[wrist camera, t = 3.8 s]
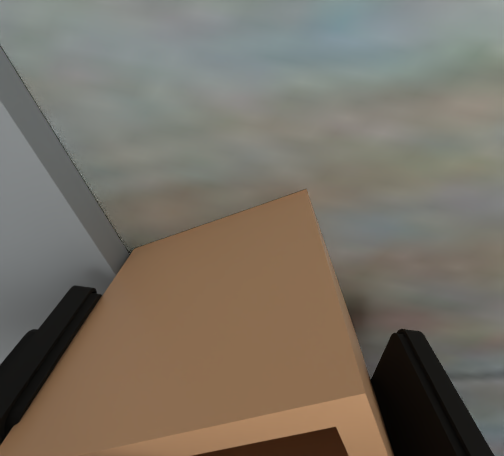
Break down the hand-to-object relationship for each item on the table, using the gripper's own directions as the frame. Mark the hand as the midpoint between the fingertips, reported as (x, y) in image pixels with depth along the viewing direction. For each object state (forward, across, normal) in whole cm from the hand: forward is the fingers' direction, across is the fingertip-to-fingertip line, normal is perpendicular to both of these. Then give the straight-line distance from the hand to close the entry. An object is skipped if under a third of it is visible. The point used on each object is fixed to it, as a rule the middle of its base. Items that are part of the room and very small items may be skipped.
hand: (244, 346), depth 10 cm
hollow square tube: (+2, 0, 0) cm, 2 cm away
